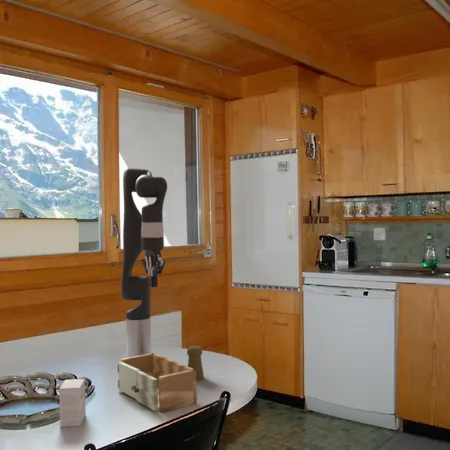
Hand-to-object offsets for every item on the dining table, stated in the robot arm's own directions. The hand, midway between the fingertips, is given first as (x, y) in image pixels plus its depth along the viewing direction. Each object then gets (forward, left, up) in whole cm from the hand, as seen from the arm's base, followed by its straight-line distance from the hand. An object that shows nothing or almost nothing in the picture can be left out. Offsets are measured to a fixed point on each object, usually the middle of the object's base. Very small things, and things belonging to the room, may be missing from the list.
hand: (153, 287), depth 180 cm
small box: (+17, -35, -32) cm, 51 cm away
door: (+8, -14, -31) cm, 35 cm away
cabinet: (+14, -8, -32) cm, 36 cm away
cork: (+6, +12, -32) cm, 35 cm away
